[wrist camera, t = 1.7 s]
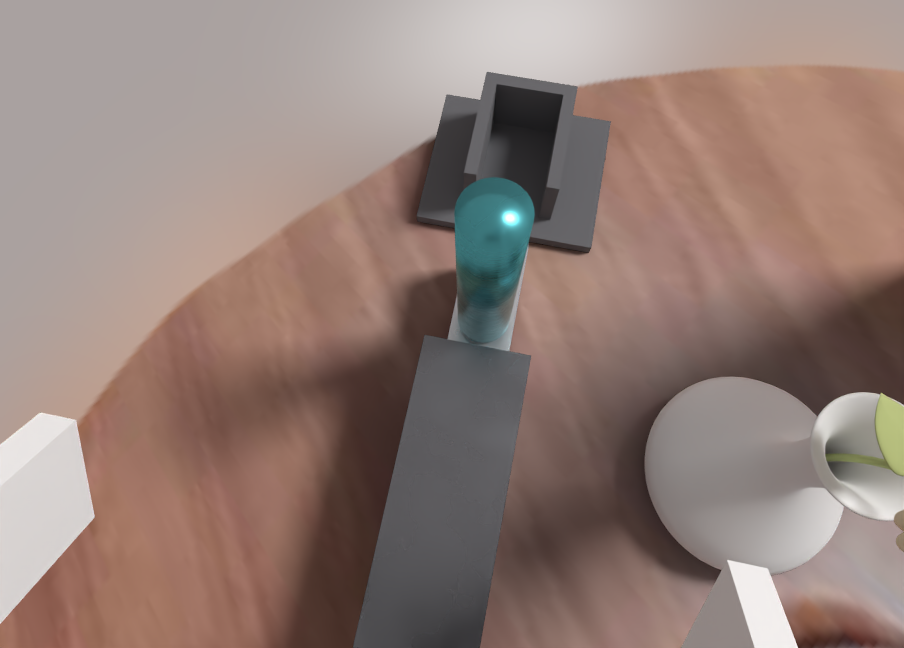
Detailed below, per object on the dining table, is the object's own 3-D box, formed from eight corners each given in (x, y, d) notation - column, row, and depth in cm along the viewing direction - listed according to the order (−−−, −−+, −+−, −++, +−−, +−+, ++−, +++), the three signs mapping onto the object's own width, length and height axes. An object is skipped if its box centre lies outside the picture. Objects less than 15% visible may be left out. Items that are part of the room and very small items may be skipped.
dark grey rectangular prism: (521, 377, 39) (531, 355, 34) (470, 663, 35) (471, 694, 29) (430, 359, 40) (424, 334, 34) (367, 638, 35) (348, 664, 29)
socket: (608, 128, 45) (625, 82, 40) (588, 252, 42) (604, 219, 37) (447, 101, 46) (445, 53, 41) (417, 221, 43) (411, 185, 38)
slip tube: (523, 268, 40) (562, 108, 24) (462, 590, 35) (461, 660, 19) (469, 258, 41) (473, 93, 25) (401, 576, 35) (347, 633, 19)
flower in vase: (606, 419, 39) (837, 274, 15) (767, 356, 40) (1233, 123, 16) (702, 633, 35) (1219, 905, 11) (877, 558, 36) (1703, 659, 12)
